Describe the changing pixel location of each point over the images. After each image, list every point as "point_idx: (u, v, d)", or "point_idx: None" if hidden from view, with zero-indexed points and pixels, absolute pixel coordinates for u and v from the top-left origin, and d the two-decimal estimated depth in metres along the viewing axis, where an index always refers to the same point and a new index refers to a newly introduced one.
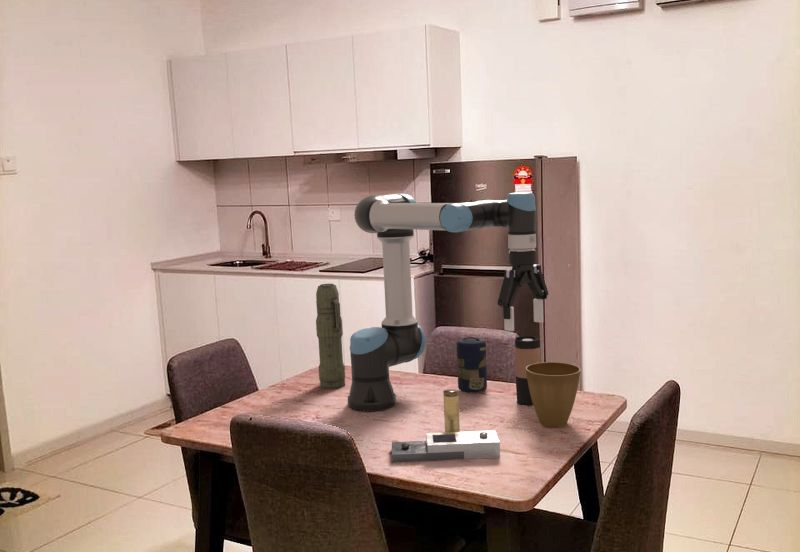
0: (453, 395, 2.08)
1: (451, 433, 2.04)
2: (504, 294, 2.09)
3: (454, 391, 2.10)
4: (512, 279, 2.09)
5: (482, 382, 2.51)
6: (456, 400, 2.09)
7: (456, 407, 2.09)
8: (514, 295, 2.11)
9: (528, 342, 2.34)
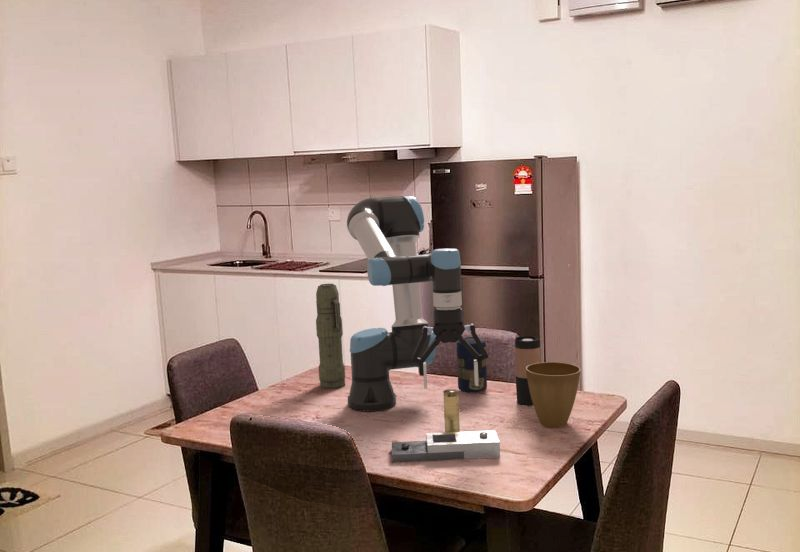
0: (453, 395, 2.08)
1: (451, 433, 2.04)
2: (415, 350, 2.08)
3: (454, 391, 2.10)
4: (424, 336, 2.07)
5: (482, 382, 2.51)
6: (456, 400, 2.09)
7: (456, 407, 2.09)
8: (428, 353, 2.07)
9: (528, 342, 2.34)
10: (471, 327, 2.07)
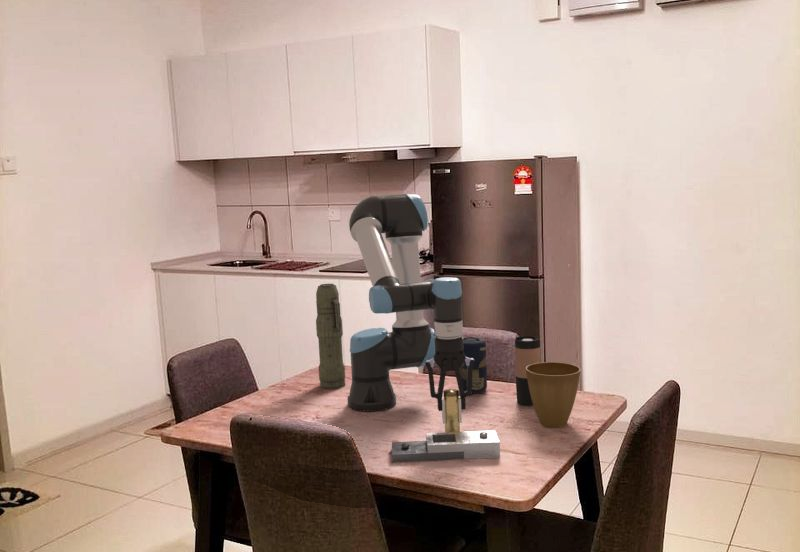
0: (453, 395, 2.08)
1: (451, 433, 2.04)
2: None
3: (454, 391, 2.10)
4: (430, 370, 2.08)
5: (482, 382, 2.51)
6: (456, 400, 2.09)
7: (457, 407, 2.09)
8: (441, 386, 2.09)
9: (528, 342, 2.34)
10: (471, 361, 2.08)
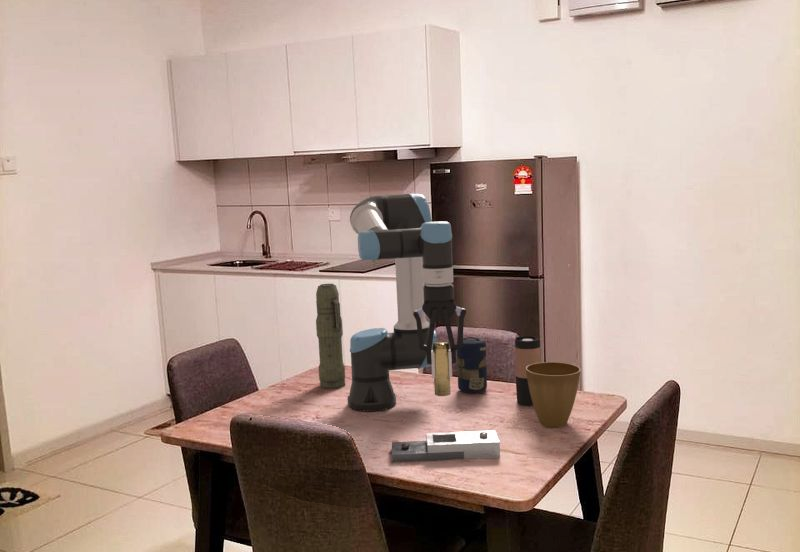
0: (443, 347, 1.95)
1: (451, 433, 2.04)
2: (418, 338, 1.96)
3: (444, 343, 1.96)
4: (418, 320, 1.95)
5: (482, 382, 2.51)
6: (446, 353, 1.96)
7: (447, 360, 1.96)
8: (430, 338, 1.95)
9: (528, 342, 2.34)
10: (462, 311, 1.95)
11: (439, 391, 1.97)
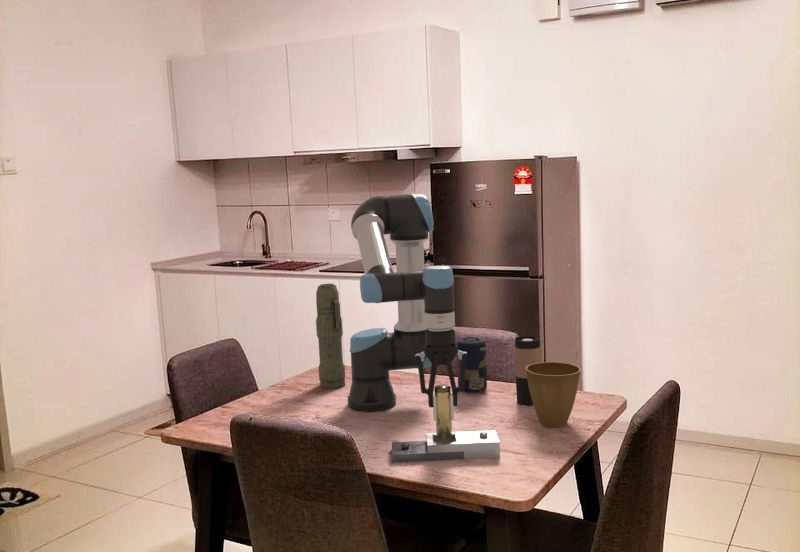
0: (445, 391, 1.96)
1: None
2: None
3: (446, 387, 1.98)
4: (420, 364, 1.96)
5: (482, 382, 2.51)
6: (448, 396, 1.97)
7: (448, 404, 1.97)
8: (432, 381, 1.97)
9: (528, 342, 2.34)
10: (464, 355, 1.96)
11: (440, 434, 1.98)
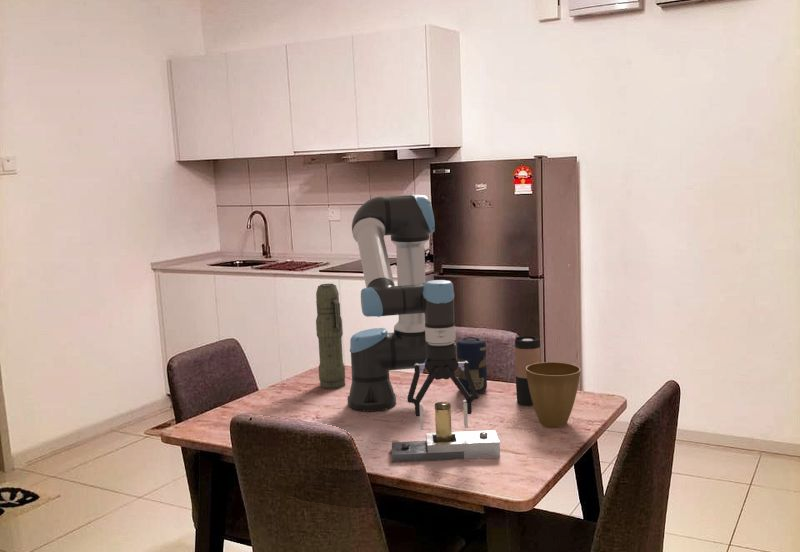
0: (445, 408, 1.97)
1: None
2: (410, 390, 1.98)
3: (446, 404, 1.99)
4: (417, 375, 1.97)
5: (482, 382, 2.51)
6: (448, 413, 1.98)
7: (448, 421, 1.98)
8: (423, 392, 1.97)
9: (528, 342, 2.34)
10: (465, 365, 1.96)
11: None
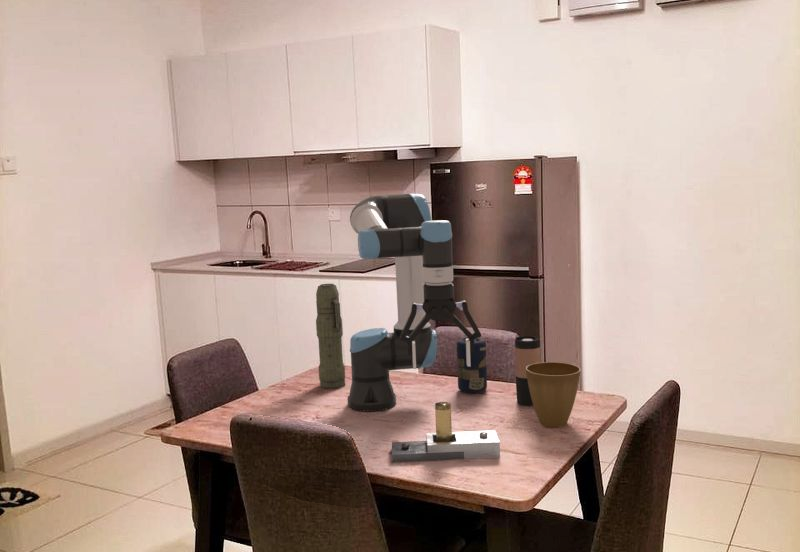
0: (445, 408, 1.97)
1: None
2: (404, 328, 1.96)
3: (446, 404, 1.99)
4: (413, 314, 1.95)
5: (482, 382, 2.51)
6: (448, 414, 1.98)
7: (449, 421, 1.98)
8: (417, 331, 1.95)
9: (528, 342, 2.34)
10: (463, 304, 1.94)
11: None
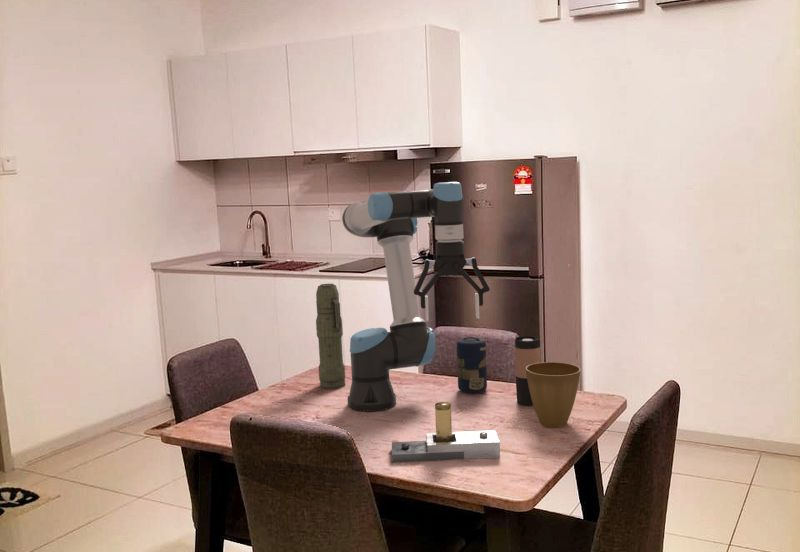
0: (446, 408, 1.97)
1: None
2: (417, 283, 2.10)
3: (446, 404, 1.98)
4: (426, 269, 2.09)
5: (482, 382, 2.51)
6: (448, 414, 1.98)
7: (449, 421, 1.98)
8: (429, 285, 2.09)
9: (528, 342, 2.34)
10: (472, 260, 2.09)
11: None
